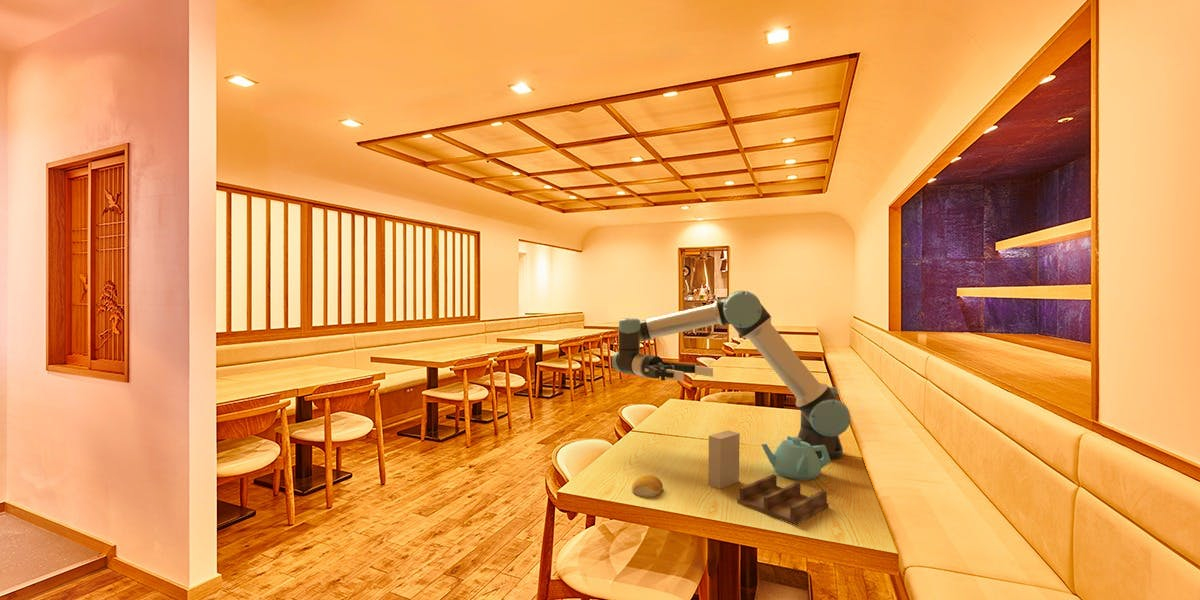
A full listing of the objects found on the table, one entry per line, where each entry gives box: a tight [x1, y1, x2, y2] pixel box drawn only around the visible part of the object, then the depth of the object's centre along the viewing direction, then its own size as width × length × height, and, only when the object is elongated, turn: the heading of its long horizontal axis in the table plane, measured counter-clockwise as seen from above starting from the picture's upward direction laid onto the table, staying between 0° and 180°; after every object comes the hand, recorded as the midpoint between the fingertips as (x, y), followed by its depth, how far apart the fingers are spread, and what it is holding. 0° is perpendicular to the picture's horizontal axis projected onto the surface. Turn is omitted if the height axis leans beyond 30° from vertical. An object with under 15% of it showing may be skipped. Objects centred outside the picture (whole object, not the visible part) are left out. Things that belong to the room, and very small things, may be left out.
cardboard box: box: [707, 430, 740, 490], centre depth 138 cm, size 9×4×14 cm, turn 129°
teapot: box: [761, 435, 832, 481], centre depth 146 cm, size 15×15×11 cm
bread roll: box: [631, 474, 664, 498], centre depth 133 cm, size 8×9×4 cm
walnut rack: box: [737, 473, 829, 526], centre depth 124 cm, size 16×16×4 cm
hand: (698, 374), depth 146 cm, fingers open, 13 cm apart
